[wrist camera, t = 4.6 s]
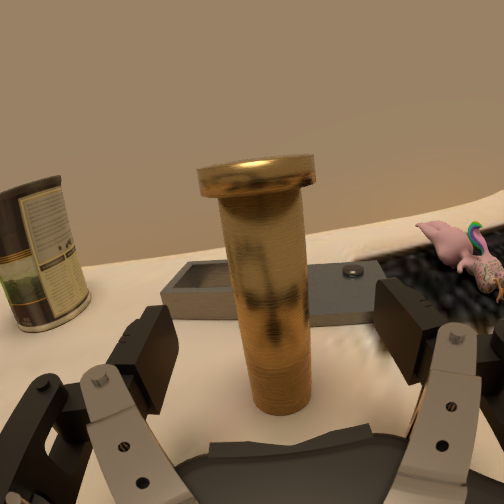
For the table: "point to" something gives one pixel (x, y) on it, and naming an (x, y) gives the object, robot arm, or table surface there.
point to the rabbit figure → (466, 253)
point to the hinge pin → (268, 271)
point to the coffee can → (39, 257)
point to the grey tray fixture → (319, 284)
